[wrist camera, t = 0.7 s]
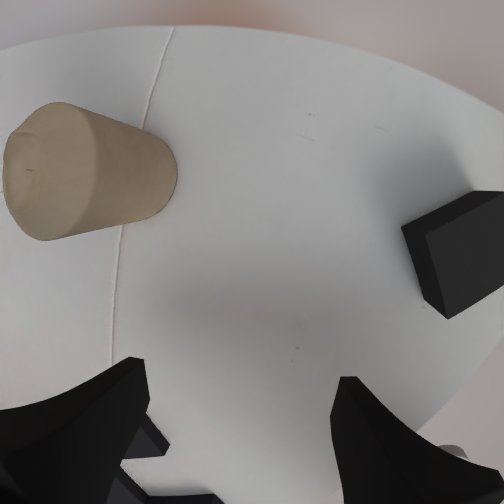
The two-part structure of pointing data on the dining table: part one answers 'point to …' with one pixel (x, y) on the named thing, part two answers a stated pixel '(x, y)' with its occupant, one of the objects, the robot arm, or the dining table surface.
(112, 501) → the base pad
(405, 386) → the dining table surface
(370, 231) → the dining table surface
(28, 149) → the candle
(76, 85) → the dining table surface
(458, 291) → the small block
